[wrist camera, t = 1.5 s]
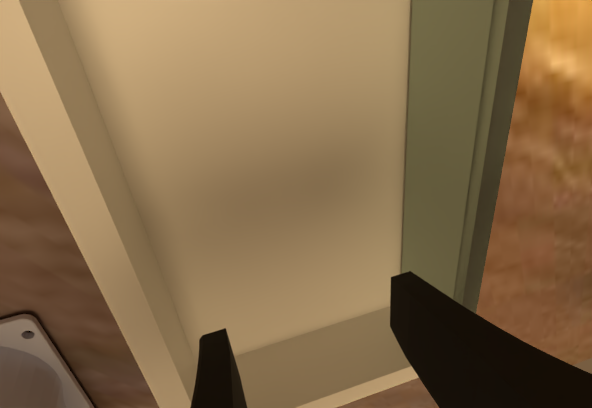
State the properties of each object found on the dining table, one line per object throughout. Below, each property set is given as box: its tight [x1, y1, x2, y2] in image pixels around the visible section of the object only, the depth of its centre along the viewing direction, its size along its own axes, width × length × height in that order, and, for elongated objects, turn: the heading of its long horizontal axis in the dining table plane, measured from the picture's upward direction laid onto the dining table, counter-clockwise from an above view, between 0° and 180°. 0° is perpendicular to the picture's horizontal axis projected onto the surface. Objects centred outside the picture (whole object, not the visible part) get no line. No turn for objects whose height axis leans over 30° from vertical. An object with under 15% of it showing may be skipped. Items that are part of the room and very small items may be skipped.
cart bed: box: [0, 0, 418, 408], centre depth 17 cm, size 22×14×6 cm, turn 6°
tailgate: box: [402, 0, 533, 314], centre depth 17 cm, size 19×1×5 cm, turn 6°
